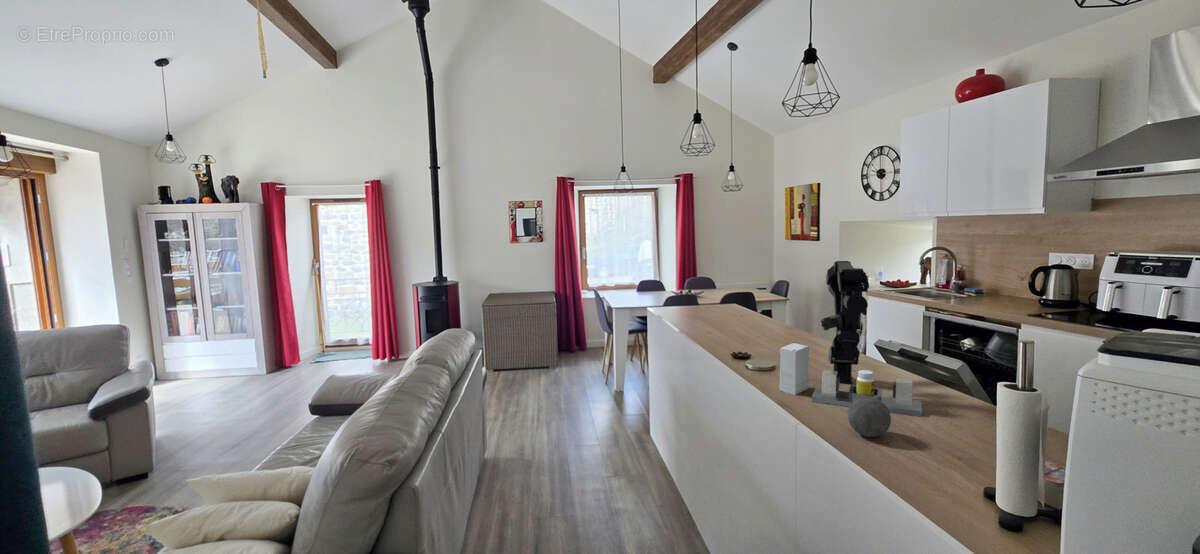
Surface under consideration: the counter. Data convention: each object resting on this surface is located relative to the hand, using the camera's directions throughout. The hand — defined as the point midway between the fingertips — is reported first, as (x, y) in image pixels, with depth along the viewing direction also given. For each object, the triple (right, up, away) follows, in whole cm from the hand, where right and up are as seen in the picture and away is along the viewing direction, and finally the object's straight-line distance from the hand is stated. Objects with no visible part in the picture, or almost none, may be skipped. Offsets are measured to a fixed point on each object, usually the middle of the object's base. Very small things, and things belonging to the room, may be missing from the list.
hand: (849, 356), depth 166 cm
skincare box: (-15, -12, +6) cm, 21 cm away
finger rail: (+1, -13, -8) cm, 15 cm away
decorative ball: (-9, -16, -30) cm, 35 cm away
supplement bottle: (+1, -12, -8) cm, 14 cm away
